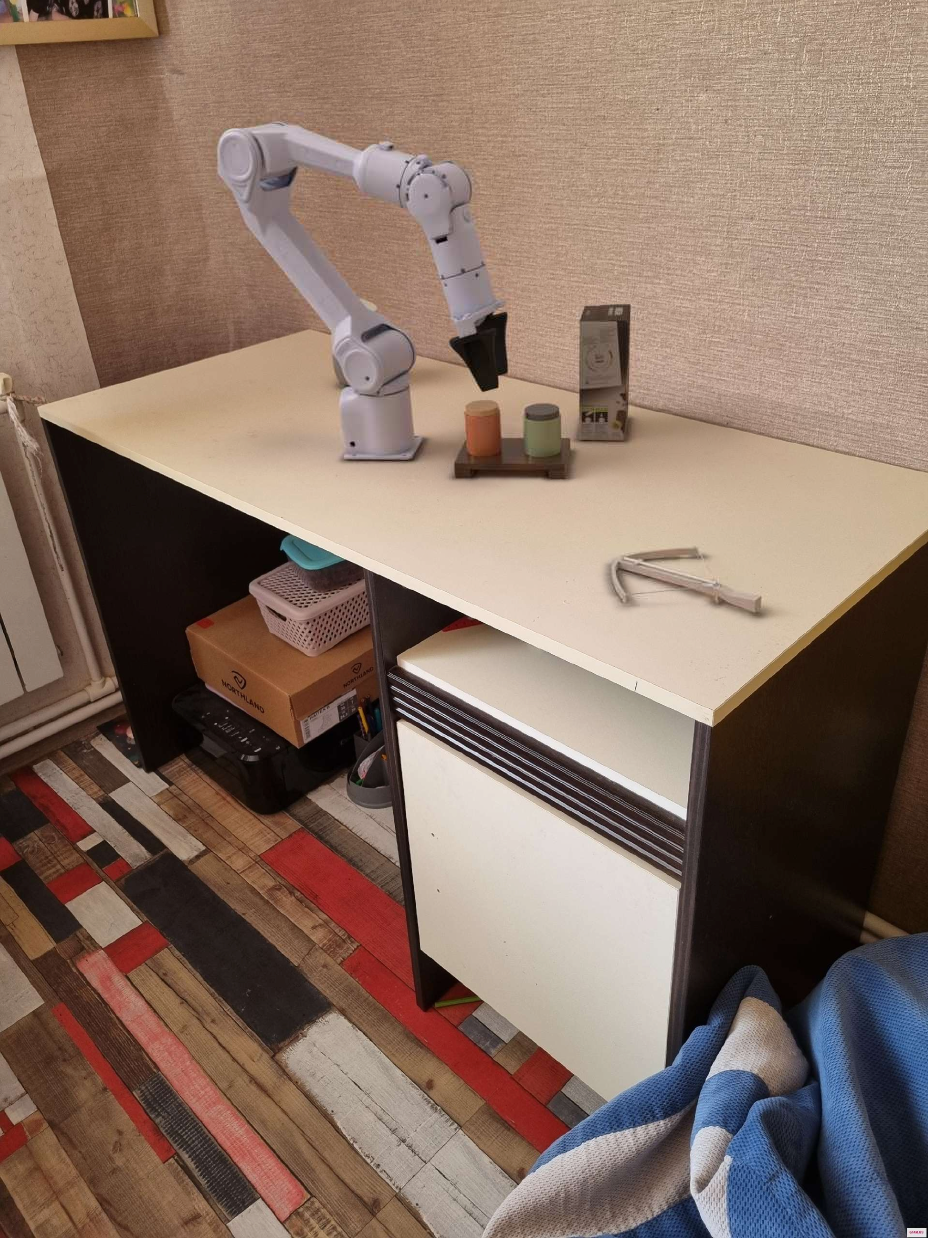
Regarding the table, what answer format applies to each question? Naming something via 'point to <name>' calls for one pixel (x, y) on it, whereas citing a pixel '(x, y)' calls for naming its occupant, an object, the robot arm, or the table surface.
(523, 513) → the table surface
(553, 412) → the sage pot
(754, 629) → the table surface
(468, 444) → the spice jar
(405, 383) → the robot arm
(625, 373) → the coffee box
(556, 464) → the stand
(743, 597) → the crossbow
